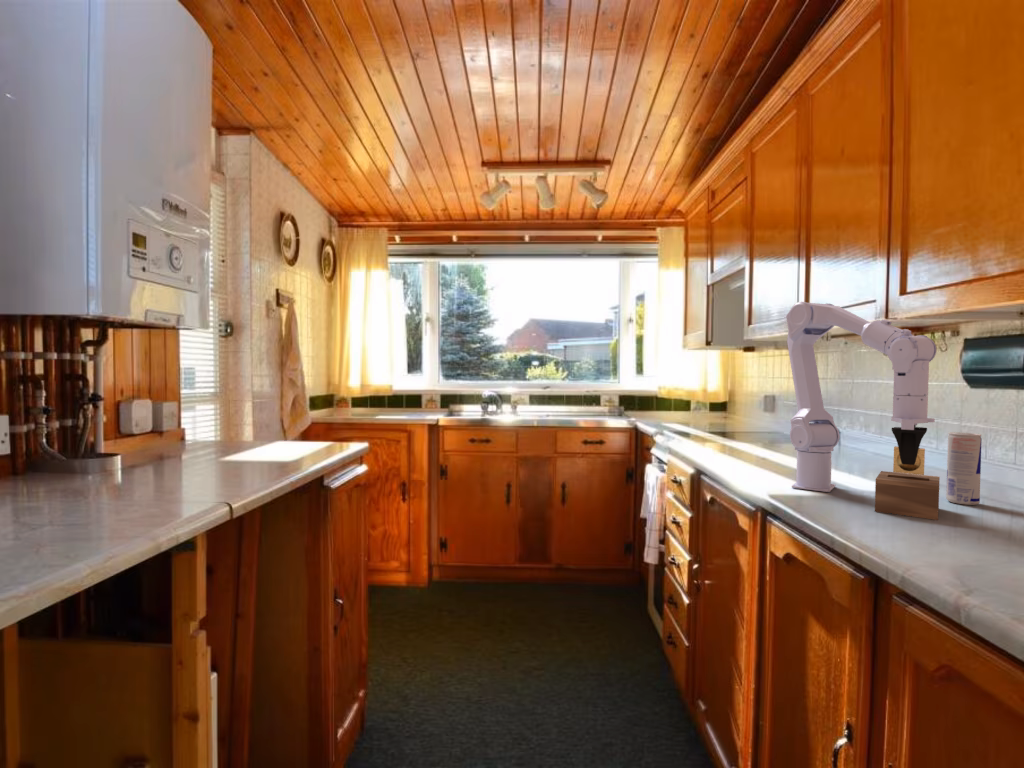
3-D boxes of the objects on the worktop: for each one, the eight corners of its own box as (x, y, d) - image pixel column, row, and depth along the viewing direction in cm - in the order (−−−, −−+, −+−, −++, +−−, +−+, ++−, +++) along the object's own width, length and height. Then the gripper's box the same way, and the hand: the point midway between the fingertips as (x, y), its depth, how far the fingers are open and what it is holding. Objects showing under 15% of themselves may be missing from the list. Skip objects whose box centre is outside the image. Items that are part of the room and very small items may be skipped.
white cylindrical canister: (985, 506, 118) (987, 434, 118) (955, 505, 120) (957, 433, 119) (969, 500, 124) (972, 432, 124) (940, 499, 125) (942, 431, 125)
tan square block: (894, 470, 117) (894, 446, 117) (924, 473, 114) (924, 448, 114) (893, 472, 115) (893, 447, 115) (923, 475, 112) (924, 449, 112)
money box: (880, 501, 122) (881, 470, 122) (938, 508, 116) (939, 476, 116) (874, 511, 113) (875, 478, 113) (937, 520, 107) (938, 485, 107)
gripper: (934, 397, 106) (932, 470, 106) (935, 395, 117) (934, 461, 118) (889, 396, 110) (887, 466, 110) (894, 394, 122) (893, 457, 122)
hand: (908, 463), depth 114 cm, fingers closed on tan square block, 2 cm apart
